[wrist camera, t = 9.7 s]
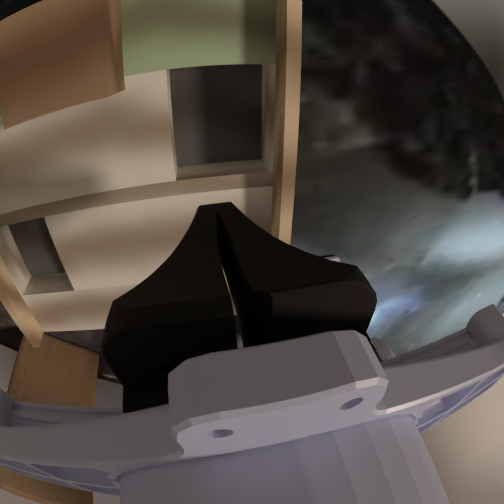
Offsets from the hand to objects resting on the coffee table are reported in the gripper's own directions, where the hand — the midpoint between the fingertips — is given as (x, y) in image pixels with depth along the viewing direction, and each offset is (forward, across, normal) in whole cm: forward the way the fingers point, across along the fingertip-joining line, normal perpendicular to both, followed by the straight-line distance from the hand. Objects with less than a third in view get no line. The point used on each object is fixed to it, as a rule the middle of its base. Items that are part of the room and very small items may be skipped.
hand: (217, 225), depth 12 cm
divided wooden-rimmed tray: (+10, +7, +1) cm, 12 cm away
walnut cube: (+7, +7, -8) cm, 13 cm away
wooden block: (+11, +22, +22) cm, 33 cm away
